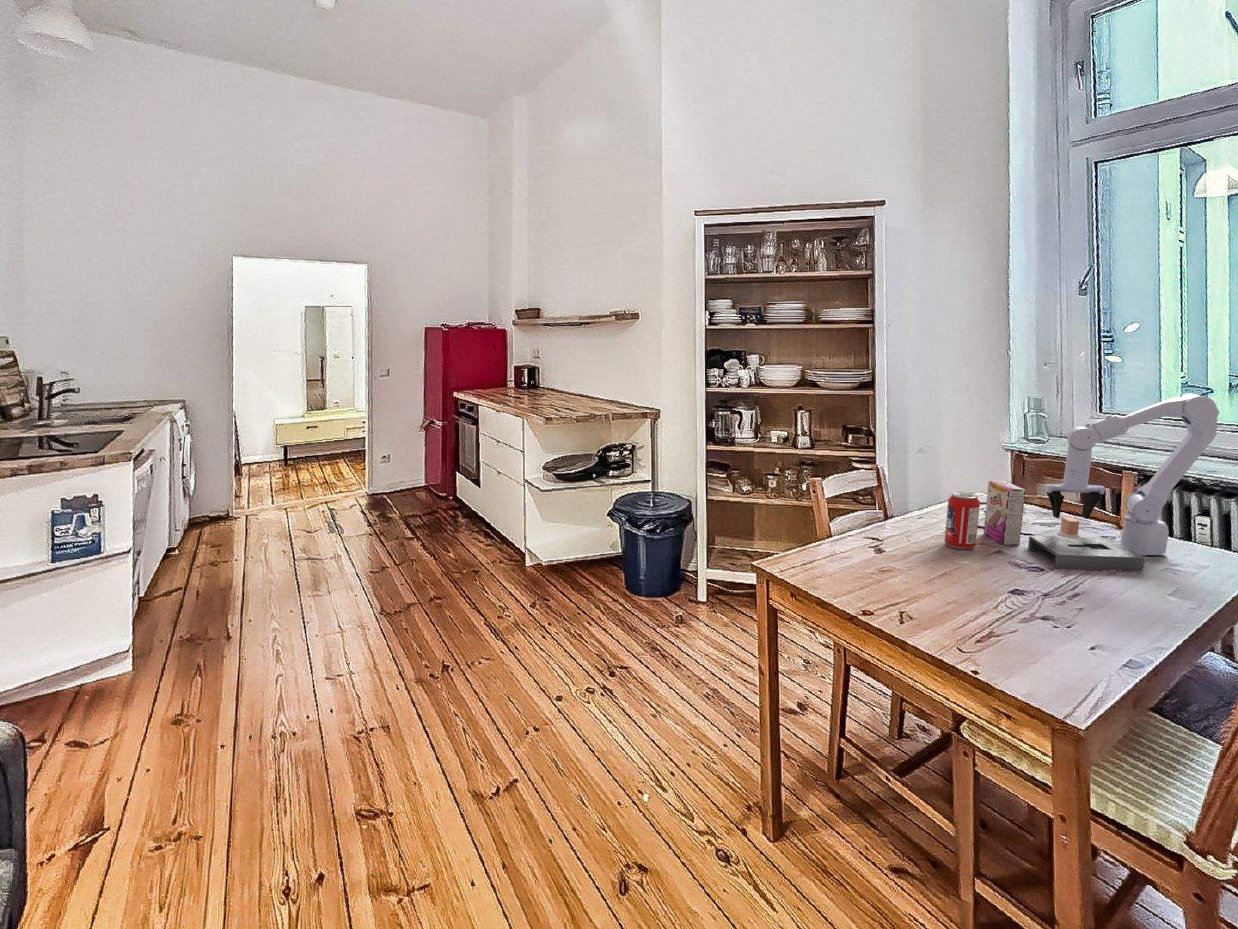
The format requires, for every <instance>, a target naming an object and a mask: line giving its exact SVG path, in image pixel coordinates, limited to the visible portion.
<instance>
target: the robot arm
mask: <svg viewBox="0 0 1238 929" xmlns="http://www.w3.org/2000/svg"><path fill="white" fill-rule="evenodd" d="M1219 414H1220V411H1219V409H1218V406H1217V405H1216V402H1215V401H1214V400H1213V399H1212V398H1210V397H1208V396H1204V395H1199V394H1197V393H1191V392H1190V393H1184V394H1182V395H1180V396H1174V397H1170V398H1168V399H1164V400H1161V401H1160V402H1157V403H1155V404H1153V405H1150V406H1147V407H1145V408H1142V409H1139V410H1136V411H1134V412H1132V413H1129V414H1126V415H1124V416H1121V415H1118V414H1112V415H1111V414H1106V415H1104V418H1103V419H1102V418H1101V419H1099V420H1096V421H1094V422H1092V423H1091V422H1086V423H1084V426H1076V427H1074V428H1072V429H1071V430H1070V431H1069V432H1068V434H1067V435H1066V439H1067V442H1068V447H1067V453H1066V460H1065V464H1064V473H1063V481H1062V483H1052V484H1051V483H1045V485H1044V492H1046V495H1047V497H1048V499H1049V502H1050V505H1051V508H1052V509H1051V510H1052V516H1053V517H1054V518H1055V519H1059V518H1060V516H1061V508H1062V505H1063V501H1064V498H1065V495H1062V493H1073V494H1074V493H1077V494H1080V493H1081V494H1082V497H1083V498H1082V499H1083V505H1082V514H1081V517H1082V518H1083V519H1086V520H1089V518H1090V516H1091V514H1092V512H1093V510H1094V509H1095V507H1096V505H1097V504H1098V503H1099V502H1100V501H1101V500H1102V497H1103V495H1104V494H1105V490H1106V487H1105V486H1102V485H1094V484H1089V478H1090V472H1091V471H1090V470H1091V463H1092V456H1093V455H1092V452H1093V448H1094V447H1095V446H1096V444H1097V443H1098V444H1101V443H1103V442H1106V441H1108V440H1113V439H1114V438H1118V437H1120V436H1123V435H1126V433H1127V432H1128V430H1129V429H1130V428H1132V427H1135V426H1138V425H1141V424H1144V423H1148V422H1151V421H1154V420H1158V419H1161V418H1163V417H1166V418H1167V417H1168V418H1178V419H1182V420H1183V422H1184V424H1185V427H1186V429H1187V430H1186V431H1187V434H1186V435H1185V437H1183V439H1182V440H1181V441H1180V442H1179V444H1178V446H1176V447H1175V449H1174V450H1173V451H1172V453H1171V454H1170V455H1169V456H1168V457H1167V458H1166V460H1165V461H1164V462H1163V463H1162V464H1161V466H1160V467H1159V468H1158V469H1157V471H1156V472H1155V474H1154V475H1153V476H1152V477H1151V478H1150V479H1149V481H1148V482H1146V483H1145V484H1143V485H1142V486H1140V487H1139V489H1138V490H1137V491H1136V492H1133V493H1131V494H1129V495H1128V496H1127V497H1126V498H1125V501H1124V507H1125V509H1126V510H1127V511H1128V512H1127V513H1126V514H1125V515H1124V518H1123V519H1124V520H1123V523H1122V525H1123V526H1122V532H1121V538H1120V539H1121V540H1120V543H1119V544H1120V545H1122V546H1124V547H1126V548H1128V549H1130V550H1132V551H1133V552H1135V553H1137V554H1139V555H1141V556H1146V555H1164V553H1165V555H1167V556H1168V554H1167V547H1168V540H1169V534H1170V533H1169V531H1170V530H1169V526H1168V525H1167V523H1166V522H1164V521H1163V520H1159V518H1160V517H1161V516H1162V512H1163V507H1164V506H1165V505H1166V503H1167V501H1168V495H1169V494H1170V492H1171V491H1172V490H1173V489H1174V487H1175V486H1176V485H1177V484H1178V483H1179V482H1180V481H1181V479H1182V478H1183V477H1184V476H1185V475H1186V473H1187V472H1188V471H1189V470H1190V468H1191V467H1192V466H1193V465H1194V464H1195V462H1196V461H1197V460H1198V459H1199V458H1200V456H1201V455H1202V454H1203V453H1204V451H1205V450H1206V449H1207V448H1208V447H1209V445H1210V444H1211V443H1212V442H1213V441H1214V439H1215V438H1216V437H1217V429H1218V417H1219ZM1162 553H1163V554H1162Z"/></svg>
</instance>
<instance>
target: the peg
mask: <svg viewBox="0 0 1238 929" xmlns="http://www.w3.org/2000/svg"><path fill="white" fill-rule="evenodd" d="M1079 527H1080V521H1079V520H1077V519H1076V518H1074V517H1069V516H1067V517H1061V523H1060V530H1059V529H1058V530H1057V533H1056V534H1057V537H1081V534H1080V533H1079V529H1080V528H1079Z"/></svg>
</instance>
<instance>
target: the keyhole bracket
mask: <svg viewBox="0 0 1238 929" xmlns="http://www.w3.org/2000/svg"><path fill="white" fill-rule="evenodd" d="M1028 537H1029V538H1028V545H1027V549H1028V550H1029V551H1042V552H1043V551H1044V552H1046V551H1047V552H1050V554H1052V555H1054V556H1055V560H1054V568H1055V569H1057V570H1076V571H1077V570H1083V571H1101V570H1117V571H1116V572H1127V571H1143V572H1144V566H1145V560H1146V557H1145V556H1144V555H1139V554H1137V553H1135V552H1133V551H1132V550H1130V549H1128V548H1126V547H1124V546H1122V545H1120V544H1121V543H1118V542H1116V541H1114V540H1112V539H1110V538H1107V537H1083V536H1082V537H1081V536H1080V537H1061V536H1052V535H1050V536H1049V535H1047V536H1046V535H1029V536H1028ZM1119 570H1121V571H1119Z"/></svg>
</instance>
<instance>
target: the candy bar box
mask: <svg viewBox="0 0 1238 929" xmlns="http://www.w3.org/2000/svg"><path fill="white" fill-rule="evenodd" d="M986 496H987V497H986V508H985V514H984V515H985V517H984V526H983V527H984V528H983V534H984V535H986V536H987V537H989V538H990V539H993V540H994V541H996V542H997V543H999V544H1001V545H1002V546H1020V541H1021V535H1022V534H1021V533H1022V532H1021V531H1022V523H1023V515H1024V508H1025V507H1024V506H1025V499H1026V498H1025V496H1026V489H1025V488H1023V487H1020V486H1018V485H1015V484H1013V483H1011V482H1008V481H1006V480H989V481H988V485H987V495H986Z"/></svg>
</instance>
